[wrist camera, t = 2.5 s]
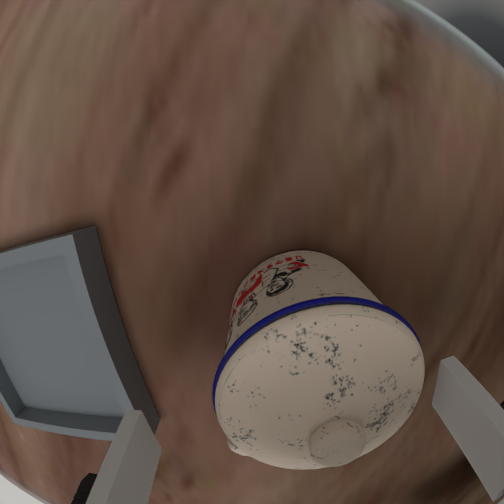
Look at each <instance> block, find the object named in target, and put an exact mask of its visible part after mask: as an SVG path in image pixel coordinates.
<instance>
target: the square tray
mask: <svg viewBox="0 0 504 504" xmlns="http://www.w3.org/2000/svg"><path fill="white" fill-rule="evenodd" d="M0 401H1V402H2V404H3V406H4V407H5V409H6V411H7V412H8V414H9V416H10V417H11V419H12V420H13V422H14V423H15V424H17V425H21V426H26V427H30V428H34V429H39V430H43V431H48V432H53V433H59V434H65V435H71V436H77V437H84V438H91V439H99V440H108V441H113V438H114V436H115V434H116V432H117V430H118V427H119V425H120V423H121V421H122V419H123V416H124V414H125V412H126V410H142V412H143V414H144V416H145V418H146V420H147V422H148V424H149V426H150V428H151V430H152V432H153V434H154V435H155V433H156V430H157V427H158V424H159V421H160V417H159V415H158V412H157V410H156V408H155V406H154V403H153V401H152V399H151V397H150V394H149V392H148V389H147V387H146V385H145V382H144V380H143V377H142V375H141V372H140V370H139V367H138V365H137V362H136V359H135V357H134V354H133V351H132V349H131V346H130V343H129V340H128V337H127V335H126V332H125V329H124V326H123V323H122V320H121V317H120V314H119V310H118V307H117V304H116V301H115V298H114V294H113V291H112V287H111V284H110V280H109V277H108V273H107V269H106V266H105V262H104V258H103V254H102V250H101V246H100V242H99V237H98V233H97V229H96V226H92V227H88V228H84V229H80V230H76V231H72V232H68V233H64V234H60V235H56V236H52V237H48V238H44V239H41V240H37V241H33V242H30V243H26V244H23V245H19V246H15V247H12V248H8V249H5V250H2V251H0Z"/></svg>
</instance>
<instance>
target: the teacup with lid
mask: <svg viewBox="0 0 504 504" xmlns="http://www.w3.org/2000/svg"><path fill="white" fill-rule="evenodd" d="M424 373H425V364H424V357H423V352H422V348H421V344H420V341H419V339H418V337H417V335H416V333H415V331H414V330H413V328H412V327H411V325H410V324H409V323H408V322H407V321H406V320H405V319H404V318H403V317H402V316H401V315H399V314H398V313H397V312H395V311H394V310H392V309H391V308H389V307H387V306H385V305H383V304H382V303H381V302H380V301H379V300H378V299H377V298H376V297H375V295H374V294H373V293H372V292H371V291H370V290H369V289H368V288H367V287H366V286H365V285H364V284H363V283H362V282H361V281H360V280H359V279H358V278H357V277H356V276H355V275H354V274H353V273H352V272H351V271H350V270H349V269H348V268H347V267H346V266H345V265H344V264H343V263H341V262H340V261H338V260H337V259H335V258H333V257H331V256H329V255H326V254H323V253H319V252H315V251H303V250H301V251H291V252H286V253H282V254H279V255H276V256H273V257H271V258H269V259H267V260H266V261H264V262H262V263H261V264H259V265H258V266H257V267H255V268H254V269H253V270H252V271H251V272H250V273H249V274H248V275H247V276H246V277H245V279H244V280H243V281H242V283H241V285H240V286H239V288H238V290H237V292H236V294H235V297H234V300H233V304H232V309H231V315H230V321H229V327H228V334H227V340H226V346H225V353H224V357H223V359H222V361H221V362H220V364H219V366H218V369H217V372H216V375H215V379H214V383H213V404H214V409H215V413H216V416H217V418H218V421H219V423H220V425H221V427H222V429H223V431H224V432H225V434H226V435H227V437H228V445H229V448H230V449H231V450H232V451H233V452H235V453H238V454H240V455H244V456H250V457H252V458H254V459H256V460H258V461H261V462H263V463H266V464H269V465H272V466H276V467H281V468H288V469H319V468H325V467H336V466H341V465H345V464H347V463H349V462H351V461H353V460H355V459H356V458H358V457H360V456H362V455H364V454H366V453H368V452H370V451H372V450H373V449H375V448H376V447H378V446H380V445H381V444H382V443H384V442H385V441H386V440H388V439H389V438H390V437H391V436H392V435H393V434H394V433H395V432H396V431H397V430H398V429H399V428H400V427H401V426H402V425H403V424H404V423H405V421H406V420H407V419H408V417H409V416H410V414H411V413H412V411H413V409H414V408H415V406H416V404H417V402H418V399H419V397H420V394H421V391H422V387H423V382H424Z"/></svg>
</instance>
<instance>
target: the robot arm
mask: <svg viewBox="0 0 504 504" xmlns="http://www.w3.org/2000/svg"><path fill="white" fill-rule="evenodd" d="M431 405H432V406H433V408H434V409H435V411H436V412H437V413H438V415H439V416H440V418H441V419H442V421H443V422H444V424H445V425H446V427H447V428H448V430H449V431H450V433H451V435H452V436H453V438H454V439H455V441H456V442H457V444H458V445H459V447H460V448H461V450H462V452H463V453H464V455H465V456H466V458H467V460H468V461H469V463H470V464H471V466H472V468H473V469H474V471H475V472H476V474H477V476H478V477H479V479H480V481H481V482H482V484H483V486H484V487H485V489H486V491H487V492H488V494H489V496H490V498H491V499H492V501H495V500H496V499H498V498H499V497H501V496H502V495H504V403H503V404H502V405H499V404H498V403H497V402H496V400H495V399H494V398H493V397H492V396H491V395H490V394H489V393H488V392H487V390H486V389H485V388H484V387H483V386H482V385H481V384H480V383H479V382H478V381H477V380H476V378H475V377H474V376H473V375H472V374H471V373H470V372H469V371H468V370H467V369H466V368H465V367H464V366H463V365H462V364H461V363H460V361H459V360H458V359H457V358H456V357H455V356H451V357H448V358H446V359H443V360H440V366H439V371H438V376H437V381H436V386H435V391H434V395H433V400H432V404H431ZM161 451H162V449H161V447H160V445H159V443H158V441H157V439H156V438H155V436H154V434H153V432H152V430H151V428H150V426H149V424H148V422H147V420H146V418H145V416H144V414H143V412H142V410H126V412H125V414H124V416H123V419H122V421H121V423H120V425H119V427H118V430H117V432H116V434H115V436H114V438H113V441H112V443H111V445H110V447H109V450H108V452H107V454H106V457H105V459H104V461H103V463H102V466H101V468H100V470H99V473H98V474H92V473H89V474H88V475H87V476H86V477H85V478H84V479H83V480H82V481H81V483H80V485H79V487H78V489H77V492H76V494H75V496H74V500H73V501H72V503H71V504H147V503H148V499H149V496H150V492H151V488H152V484H153V481H154V477H155V473H156V469H157V466H158V462H159V459H160V455H161Z"/></svg>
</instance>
